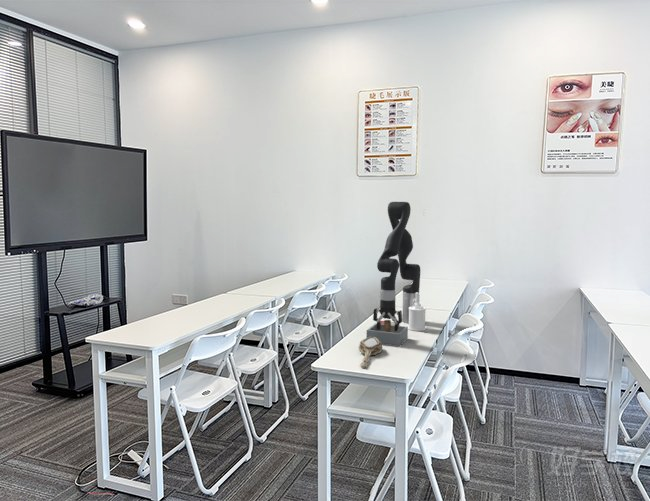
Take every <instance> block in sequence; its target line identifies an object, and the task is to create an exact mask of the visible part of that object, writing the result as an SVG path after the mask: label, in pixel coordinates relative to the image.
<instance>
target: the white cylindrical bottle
mask: <svg viewBox="0 0 650 501" xmlns="http://www.w3.org/2000/svg"><path fill="white" fill-rule="evenodd" d="M414 300H415V298H414V299H413V302H414ZM413 302H412V306H411V307H409V323H408V326H407V327H408V330H410V331H413V332H423V331H425V330H426V310H427V308H426V307H424V306H422V305H421V303H420V292H419V293H418V292H416V300H415V302H416V303H415V302H414V304H415V306H414V305H413Z"/></svg>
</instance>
